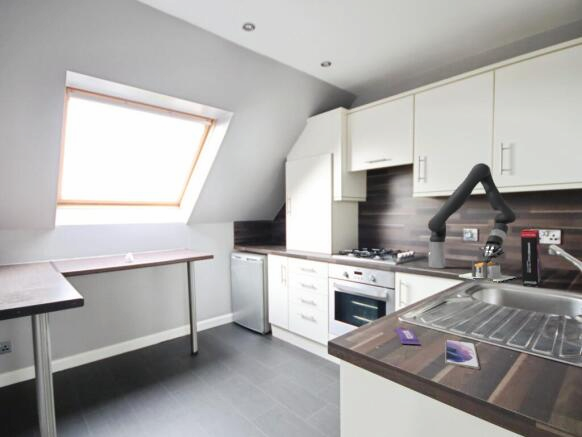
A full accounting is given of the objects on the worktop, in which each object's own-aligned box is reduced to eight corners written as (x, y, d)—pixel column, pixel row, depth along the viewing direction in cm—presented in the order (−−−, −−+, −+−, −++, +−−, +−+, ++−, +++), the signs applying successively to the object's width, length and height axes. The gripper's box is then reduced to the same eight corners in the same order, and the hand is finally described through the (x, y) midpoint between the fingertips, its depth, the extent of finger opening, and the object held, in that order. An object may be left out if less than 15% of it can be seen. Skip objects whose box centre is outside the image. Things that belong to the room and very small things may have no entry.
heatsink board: (458, 276, 174) (458, 260, 174) (477, 273, 185) (477, 257, 185) (497, 283, 157) (497, 264, 157) (515, 278, 168) (515, 261, 168)
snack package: (420, 340, 83) (401, 339, 84) (420, 347, 83) (401, 347, 84) (411, 325, 94) (394, 325, 95) (411, 331, 94) (394, 331, 95)
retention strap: (489, 263, 176) (474, 266, 168) (489, 261, 176) (474, 263, 168) (496, 264, 173) (482, 267, 165) (496, 262, 173) (482, 264, 165)
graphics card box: (538, 287, 146) (538, 230, 146) (520, 285, 151) (520, 230, 151) (540, 282, 159) (540, 229, 159) (524, 280, 164) (523, 229, 164)
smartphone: (445, 362, 73) (445, 339, 86) (445, 365, 73) (445, 342, 86) (480, 368, 70) (474, 343, 83) (480, 371, 70) (475, 346, 83)
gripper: (481, 234, 181) (470, 256, 174) (506, 234, 170) (496, 259, 163) (486, 242, 184) (475, 265, 177) (511, 243, 172) (501, 268, 166)
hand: (485, 262), depth 170 cm, fingers closed
